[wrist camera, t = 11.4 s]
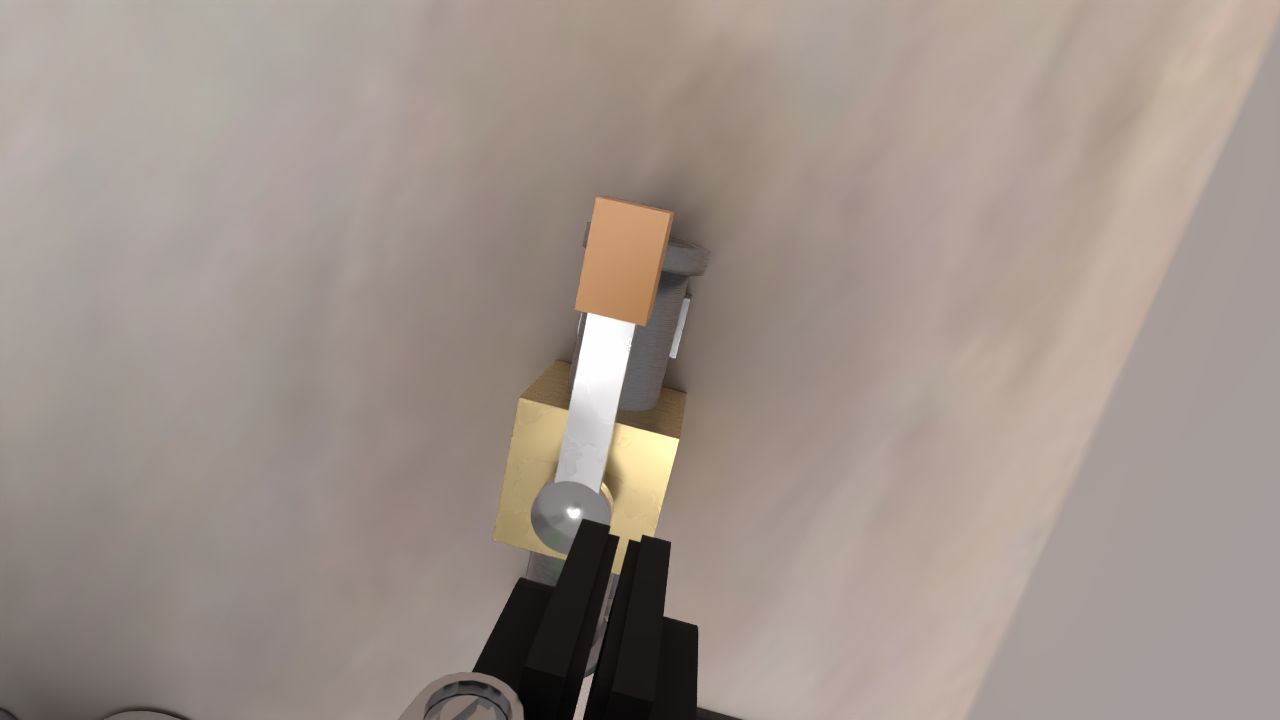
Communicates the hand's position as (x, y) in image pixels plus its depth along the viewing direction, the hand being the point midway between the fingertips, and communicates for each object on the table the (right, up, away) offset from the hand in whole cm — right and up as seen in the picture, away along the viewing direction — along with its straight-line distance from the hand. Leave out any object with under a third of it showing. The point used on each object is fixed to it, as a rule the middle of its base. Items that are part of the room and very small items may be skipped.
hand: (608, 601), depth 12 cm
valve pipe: (-1, 0, +23) cm, 23 cm away
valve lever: (-1, +4, +15) cm, 15 cm away
